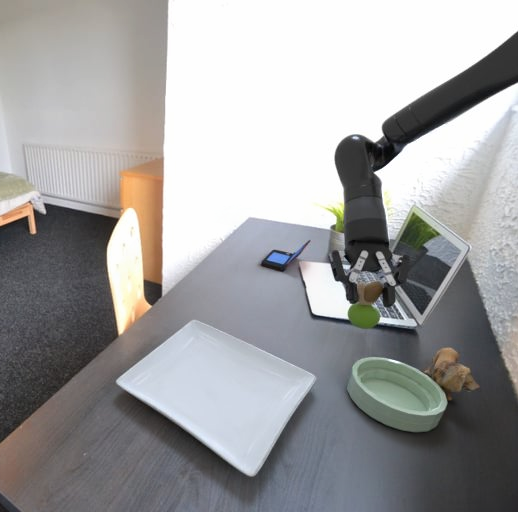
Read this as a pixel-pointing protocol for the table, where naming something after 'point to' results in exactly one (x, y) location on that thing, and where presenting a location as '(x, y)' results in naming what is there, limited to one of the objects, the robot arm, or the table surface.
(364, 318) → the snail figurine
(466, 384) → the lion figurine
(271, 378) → the square plate
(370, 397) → the dish
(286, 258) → the handheld console
